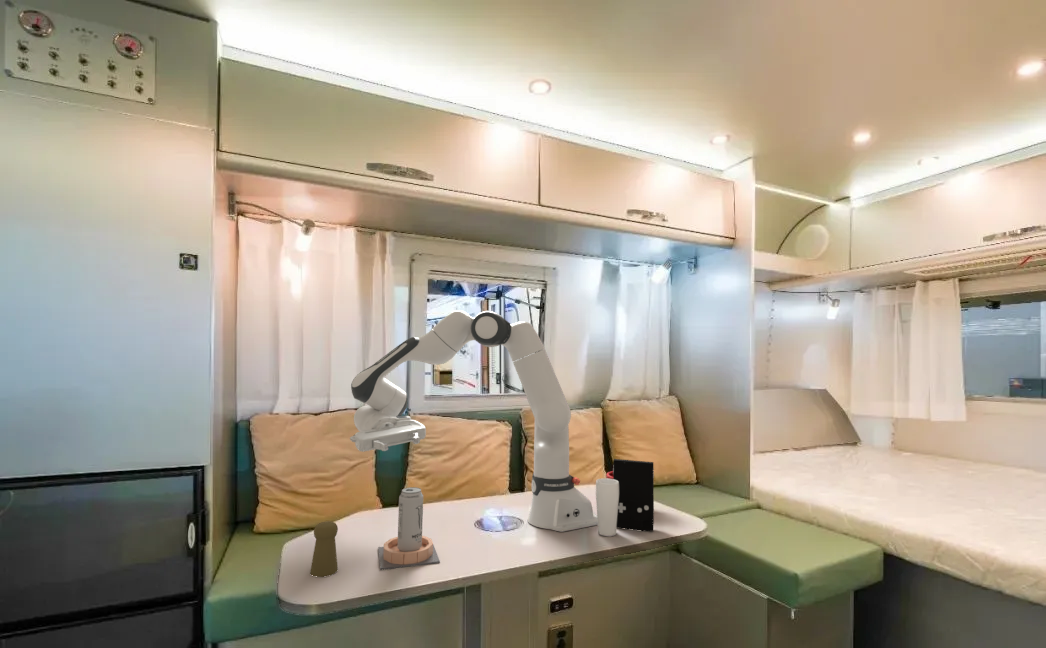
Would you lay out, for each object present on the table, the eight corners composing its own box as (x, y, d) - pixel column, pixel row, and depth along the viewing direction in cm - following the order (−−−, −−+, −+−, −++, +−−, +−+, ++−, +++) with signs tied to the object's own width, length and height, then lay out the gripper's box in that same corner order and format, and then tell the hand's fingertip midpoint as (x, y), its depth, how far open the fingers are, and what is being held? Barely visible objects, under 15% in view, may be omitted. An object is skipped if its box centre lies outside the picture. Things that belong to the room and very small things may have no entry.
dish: (432, 542, 130) (432, 531, 130) (439, 562, 117) (440, 550, 118) (378, 548, 125) (378, 537, 125) (380, 569, 113) (380, 557, 113)
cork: (315, 565, 114) (317, 518, 115) (341, 565, 115) (343, 518, 116) (305, 577, 108) (308, 527, 109) (333, 577, 109) (335, 527, 110)
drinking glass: (618, 539, 135) (619, 484, 136) (594, 536, 136) (595, 483, 137) (619, 530, 142) (619, 479, 143) (595, 528, 143) (596, 477, 144)
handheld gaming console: (612, 527, 144) (612, 460, 145) (614, 523, 148) (614, 457, 149) (653, 533, 140) (653, 463, 141) (654, 528, 144) (654, 460, 146)
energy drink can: (417, 555, 118) (419, 493, 119) (393, 554, 118) (395, 492, 119) (424, 546, 124) (426, 487, 125) (402, 545, 124) (404, 486, 125)
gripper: (347, 426, 137) (365, 440, 127) (413, 414, 150) (434, 427, 139) (347, 447, 138) (365, 463, 127) (413, 434, 151) (434, 447, 140)
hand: (402, 444), depth 133 cm, fingers open, 8 cm apart
